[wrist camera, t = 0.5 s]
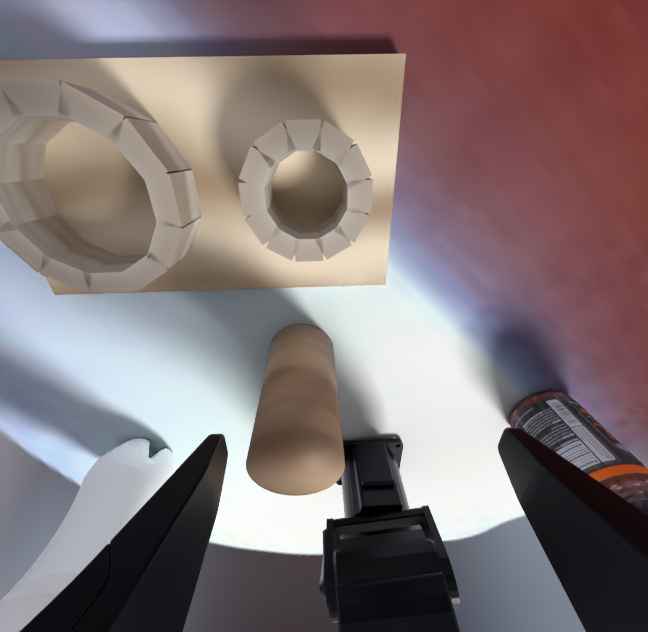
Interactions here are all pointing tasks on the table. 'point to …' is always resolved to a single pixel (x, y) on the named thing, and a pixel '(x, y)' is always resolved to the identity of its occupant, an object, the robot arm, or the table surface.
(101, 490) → the water bottle
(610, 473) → the supplement bottle
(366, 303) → the table surface
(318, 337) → the walnut peg
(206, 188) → the two-ring peg board
